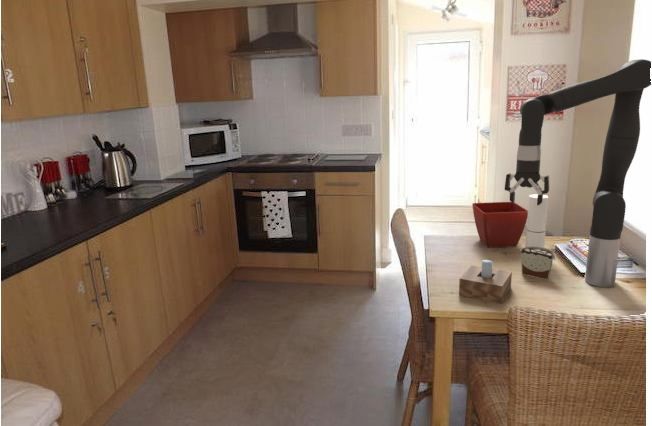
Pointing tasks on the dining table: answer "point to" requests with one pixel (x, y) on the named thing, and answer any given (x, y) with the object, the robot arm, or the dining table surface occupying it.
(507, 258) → the dining table surface
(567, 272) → the dining table surface
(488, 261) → the dowel
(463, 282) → the socket block
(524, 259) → the food container
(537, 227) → the cylindrical container
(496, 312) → the dining table surface
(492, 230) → the plant pot
